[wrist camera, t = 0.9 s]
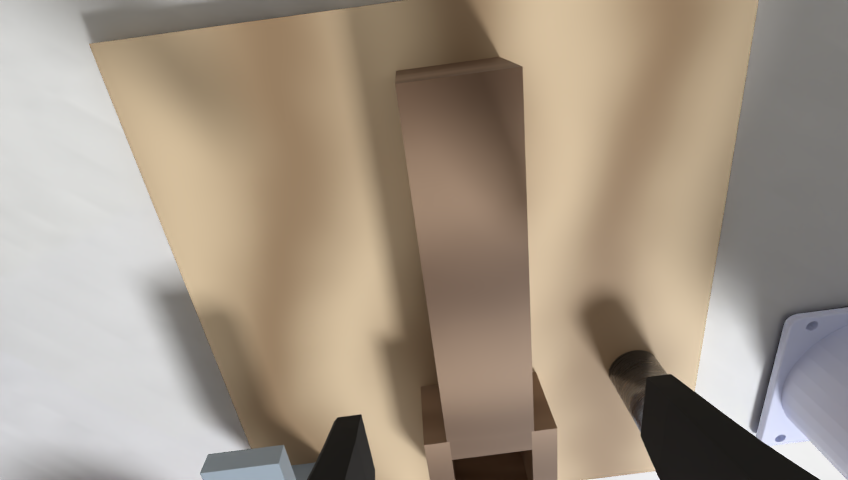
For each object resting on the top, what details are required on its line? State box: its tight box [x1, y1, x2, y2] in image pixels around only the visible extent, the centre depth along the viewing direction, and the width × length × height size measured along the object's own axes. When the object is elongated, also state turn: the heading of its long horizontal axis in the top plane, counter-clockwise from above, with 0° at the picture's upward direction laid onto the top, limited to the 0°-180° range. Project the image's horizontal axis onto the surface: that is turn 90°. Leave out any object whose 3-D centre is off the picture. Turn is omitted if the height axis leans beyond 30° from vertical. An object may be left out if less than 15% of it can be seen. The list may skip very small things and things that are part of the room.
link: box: [395, 57, 557, 480], centre depth 18 cm, size 19×5×3 cm, turn 7°
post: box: [609, 350, 667, 432], centre depth 20 cm, size 2×2×4 cm
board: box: [89, 0, 759, 480], centre depth 20 cm, size 21×23×1 cm
